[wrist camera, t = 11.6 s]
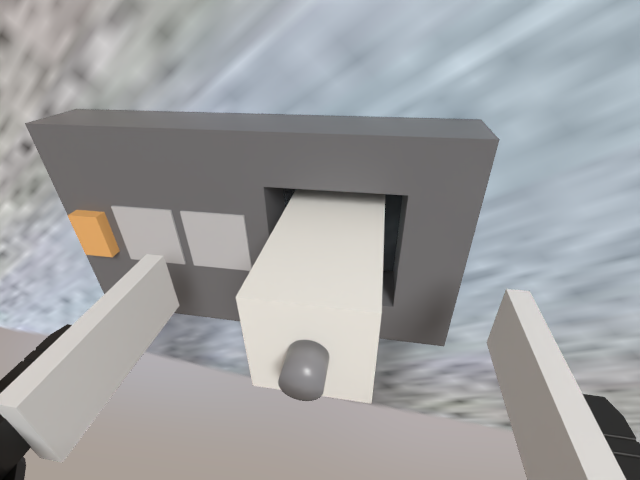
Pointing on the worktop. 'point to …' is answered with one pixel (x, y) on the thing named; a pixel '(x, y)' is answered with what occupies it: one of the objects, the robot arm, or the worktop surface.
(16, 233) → the worktop surface
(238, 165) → the power strip
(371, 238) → the block
